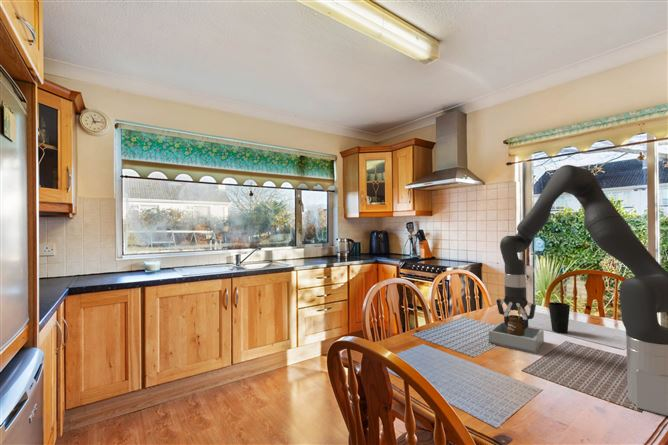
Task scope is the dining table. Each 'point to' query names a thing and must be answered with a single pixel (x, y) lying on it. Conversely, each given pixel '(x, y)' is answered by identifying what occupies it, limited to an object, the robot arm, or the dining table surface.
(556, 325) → the cup
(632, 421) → the dining table surface
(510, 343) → the bin
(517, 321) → the utensil holder
